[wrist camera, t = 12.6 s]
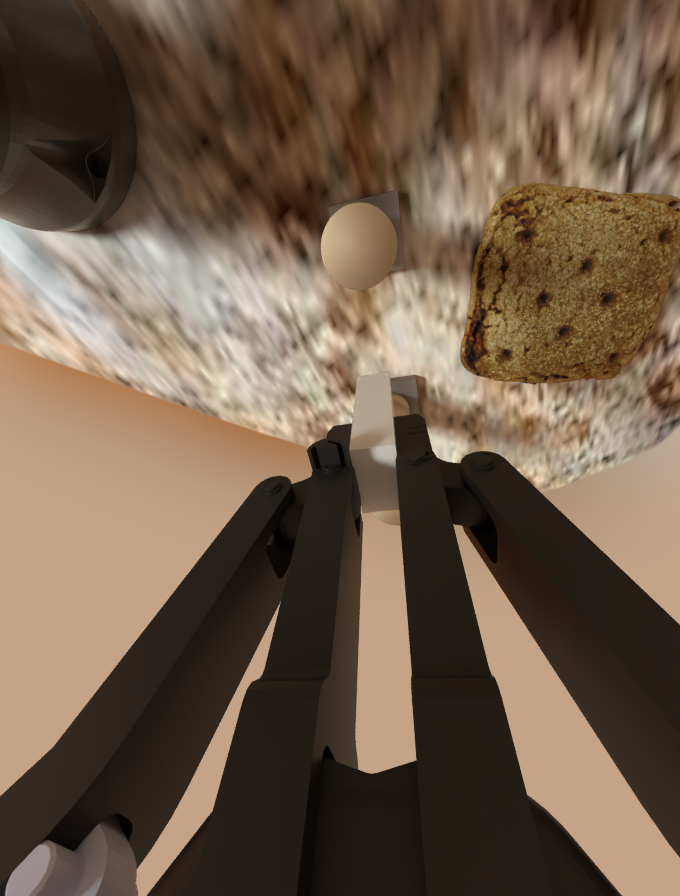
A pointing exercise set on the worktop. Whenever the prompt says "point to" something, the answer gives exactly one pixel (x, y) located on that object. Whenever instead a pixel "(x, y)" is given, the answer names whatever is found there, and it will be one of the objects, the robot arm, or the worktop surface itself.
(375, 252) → the post
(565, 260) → the pastry
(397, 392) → the post
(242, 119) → the worktop surface
